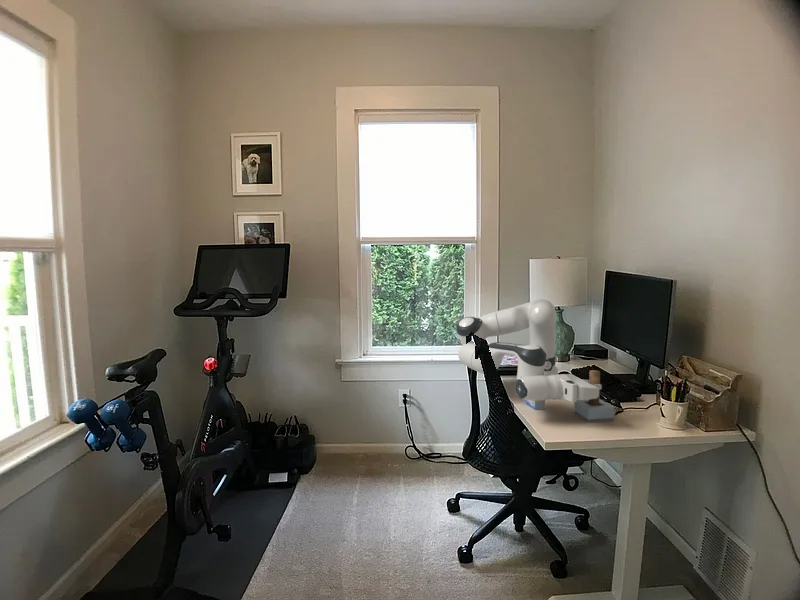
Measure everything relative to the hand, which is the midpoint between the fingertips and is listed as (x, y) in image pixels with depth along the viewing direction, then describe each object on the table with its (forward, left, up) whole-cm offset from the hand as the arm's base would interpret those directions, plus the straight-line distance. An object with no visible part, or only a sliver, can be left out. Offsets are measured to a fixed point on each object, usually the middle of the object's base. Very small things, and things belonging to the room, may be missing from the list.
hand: (596, 384), depth 176 cm
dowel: (0, -1, -7) cm, 7 cm away
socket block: (0, -1, -12) cm, 12 cm away
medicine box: (-15, -17, -12) cm, 26 cm away
